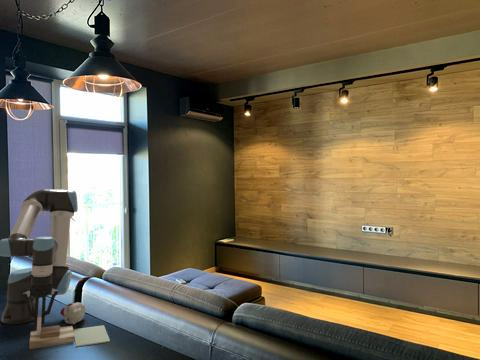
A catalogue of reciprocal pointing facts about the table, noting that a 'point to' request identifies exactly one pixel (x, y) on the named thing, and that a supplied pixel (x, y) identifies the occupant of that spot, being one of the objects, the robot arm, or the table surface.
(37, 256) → the robot arm
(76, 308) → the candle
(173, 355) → the table surface
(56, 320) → the table surface
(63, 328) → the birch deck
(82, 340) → the sage mat
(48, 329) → the walnut tile
